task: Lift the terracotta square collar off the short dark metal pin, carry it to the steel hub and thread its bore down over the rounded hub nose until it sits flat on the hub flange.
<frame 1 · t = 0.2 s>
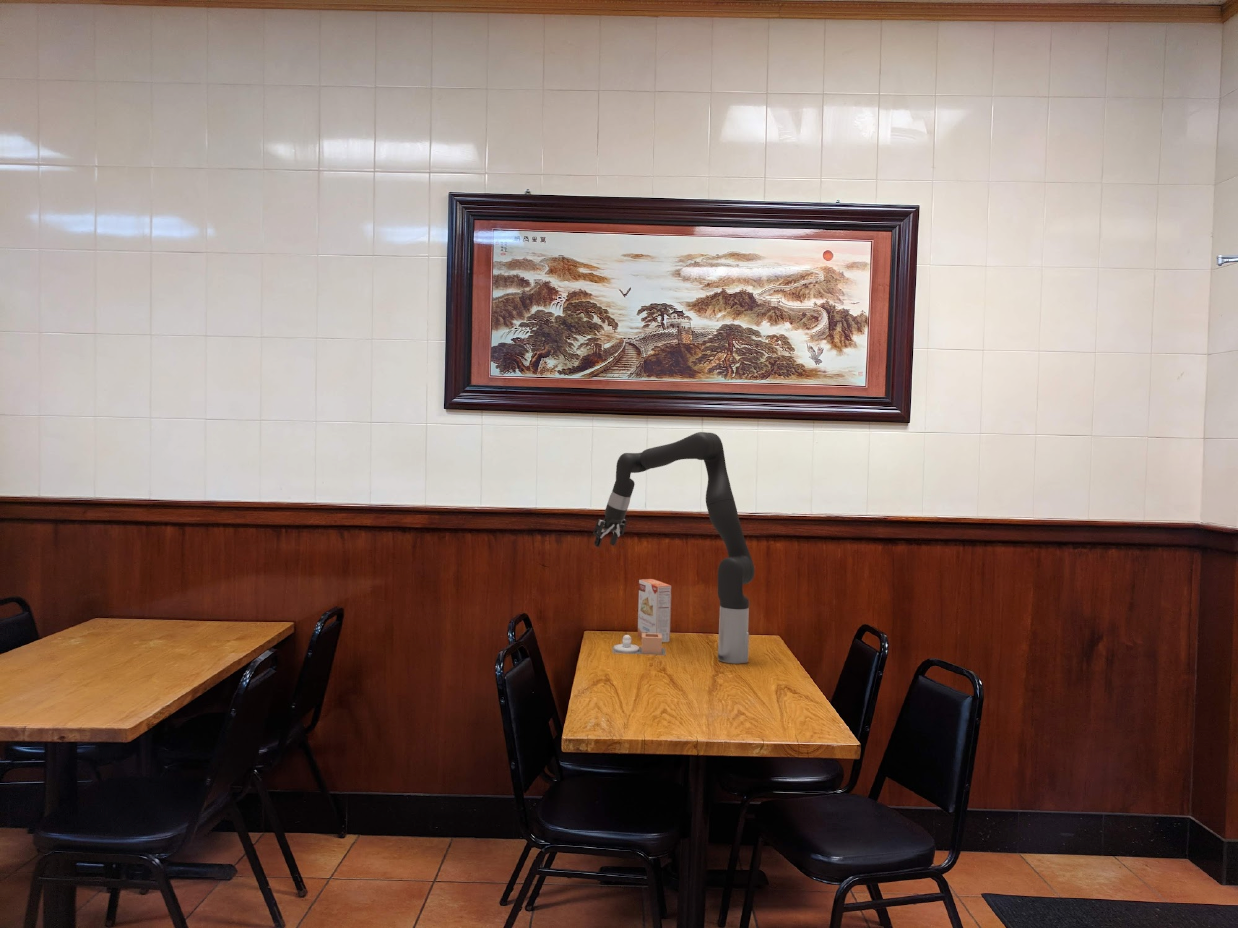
hand: (604, 545, 297), 31 cm above the table, tool tilted 20°, fingers open, 8 cm apart
hub base: (638, 654, 264), on the table
collar: (651, 650, 263), point 1 cm above the table, touching hub base
cracker box: (652, 642, 282), on the table
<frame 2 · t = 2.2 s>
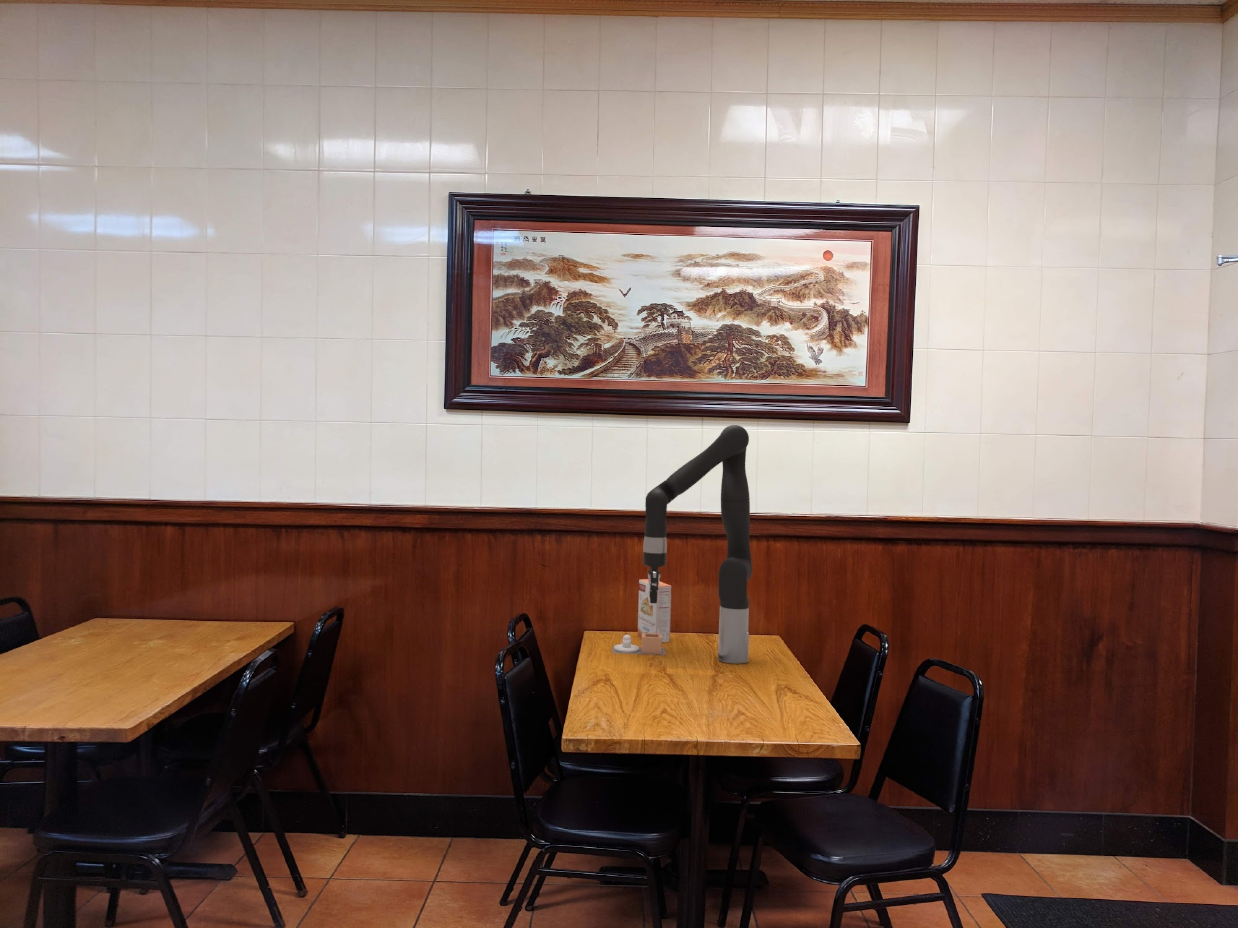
hand: (653, 600, 263), 18 cm above the table, tool pointing down, fingers open, 8 cm apart
nothing on the table moved.
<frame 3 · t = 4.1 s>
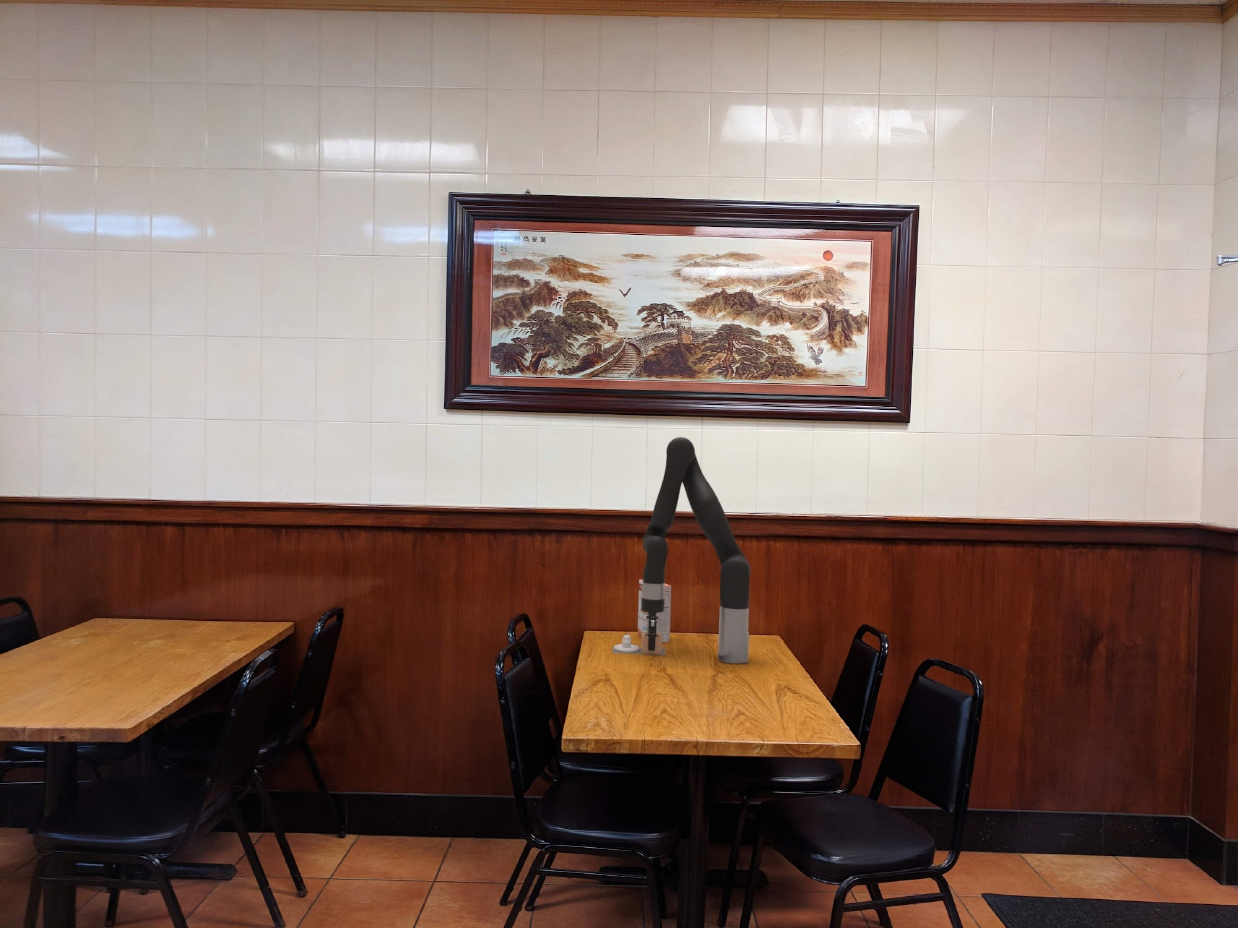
hand: (651, 647, 263), 3 cm above the table, tool pointing down, fingers closed on collar, 6 cm apart
collar: (651, 650, 263), point 1 cm above the table, touching gripper, hub base
everything else where it was.
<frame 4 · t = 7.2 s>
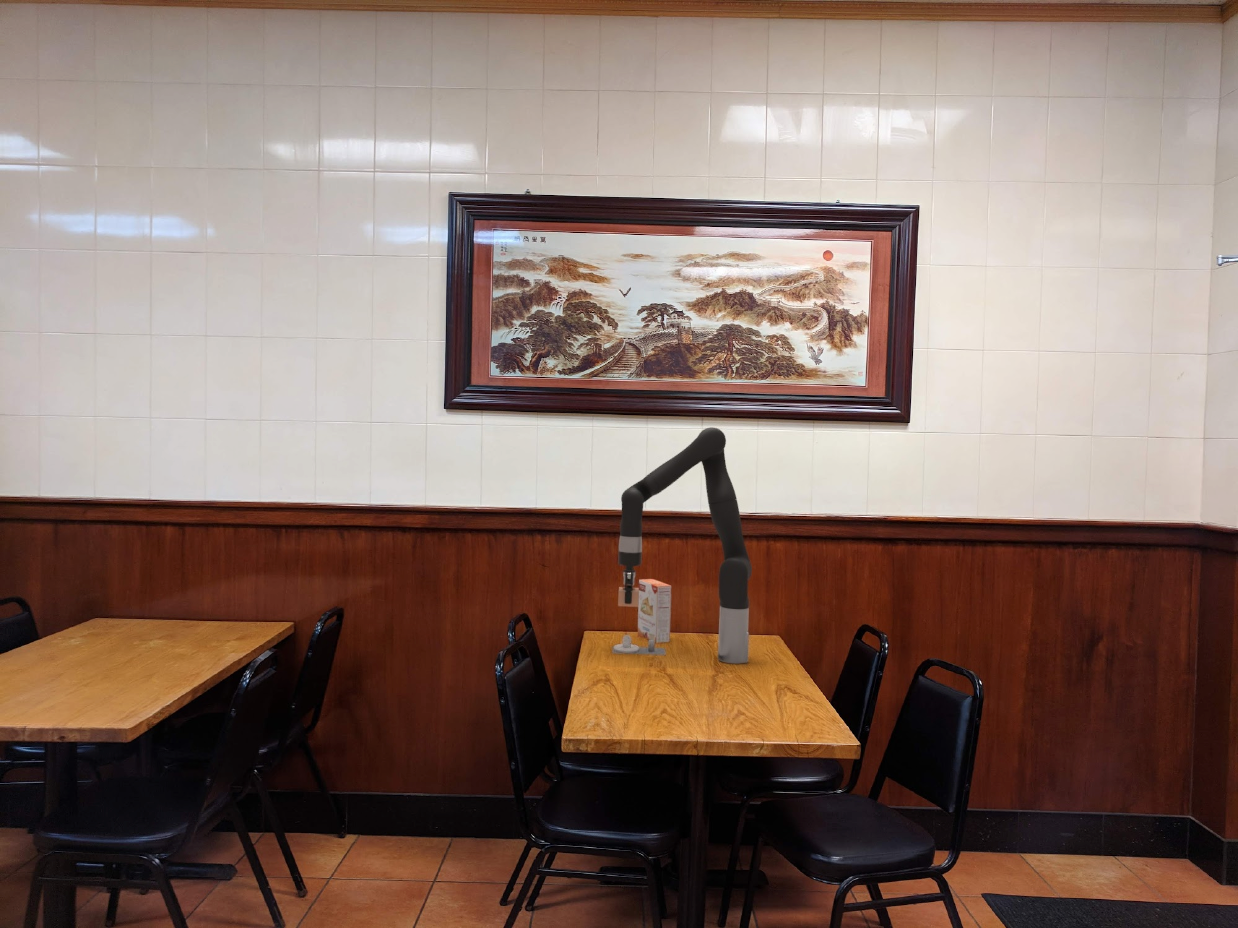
hand: (628, 601, 263), 17 cm above the table, tool pointing down, fingers closed on collar, 6 cm apart
collar: (628, 604, 263), point 16 cm above the table, touching gripper
everything else where it was.
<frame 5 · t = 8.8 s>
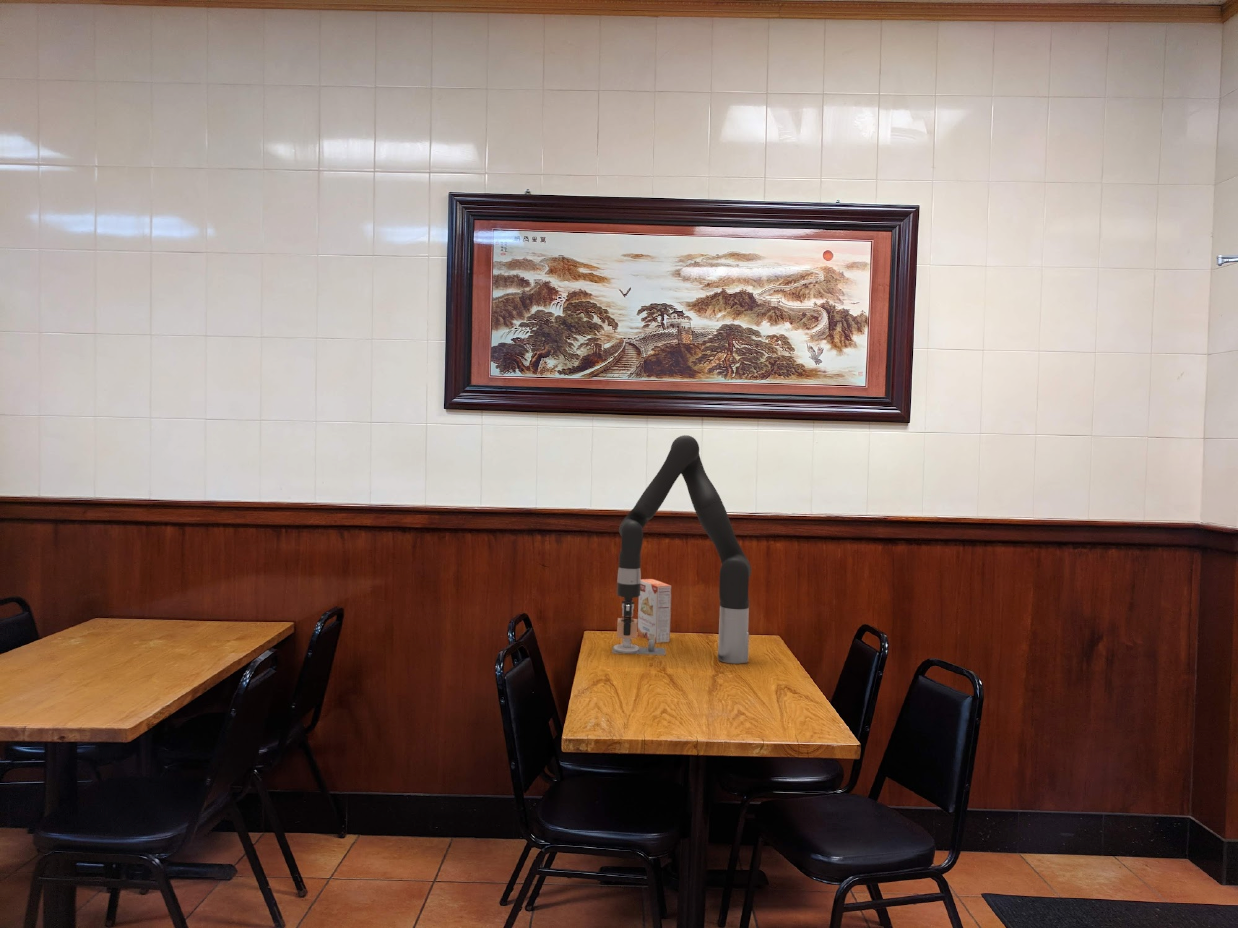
hand: (627, 632, 264), 7 cm above the table, tool pointing down, fingers closed on collar, 6 cm apart
collar: (626, 635, 264), point 6 cm above the table, touching gripper
everything else where it was.
when the fingers open (4 cm above the table, at t = 10.2 s): collar stays where it is, resting on hub base.
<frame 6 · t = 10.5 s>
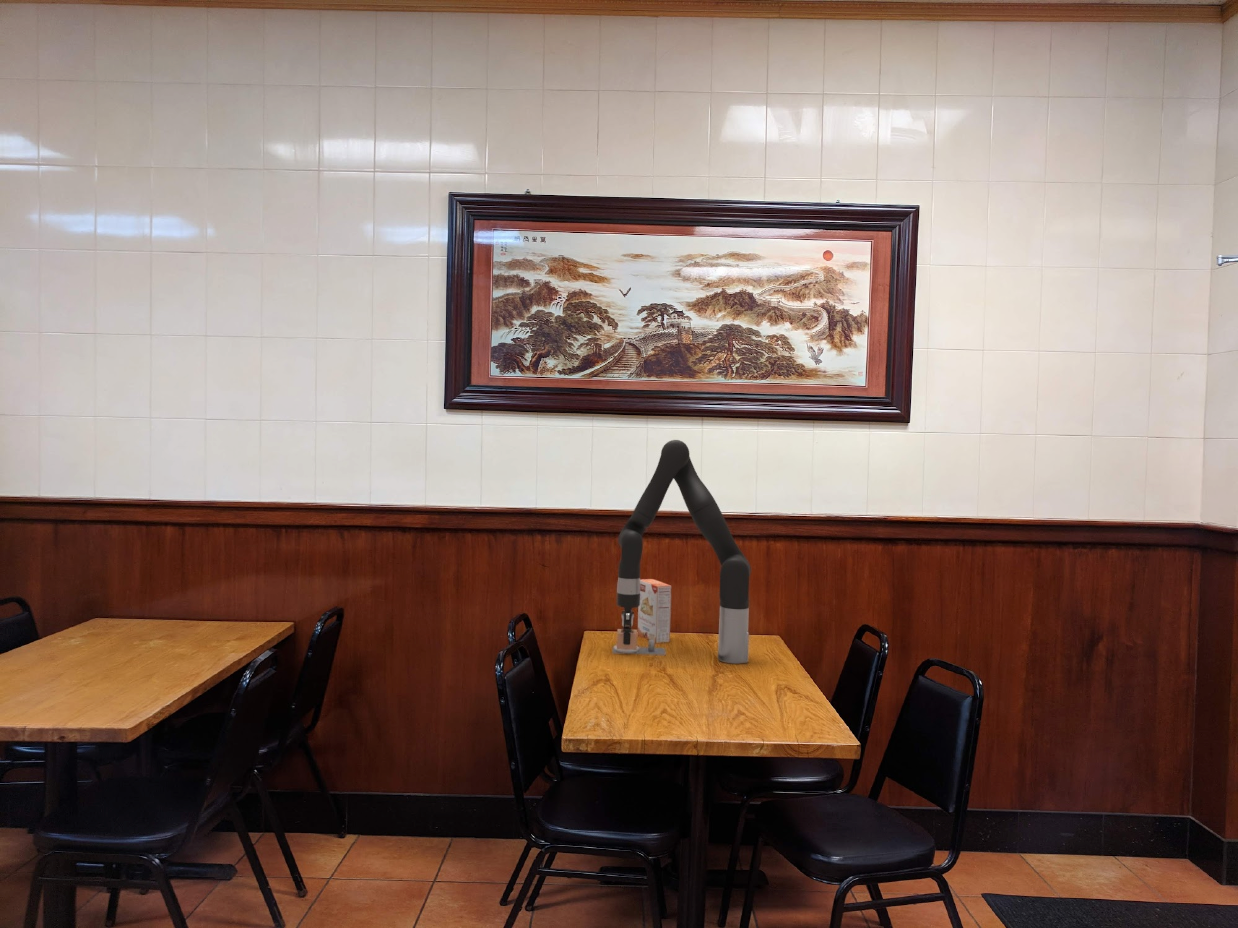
hand: (626, 641, 264), 4 cm above the table, tool pointing down, fingers open, 8 cm apart
collar: (626, 646, 264), point 2 cm above the table, touching hub base
everything else where it was.
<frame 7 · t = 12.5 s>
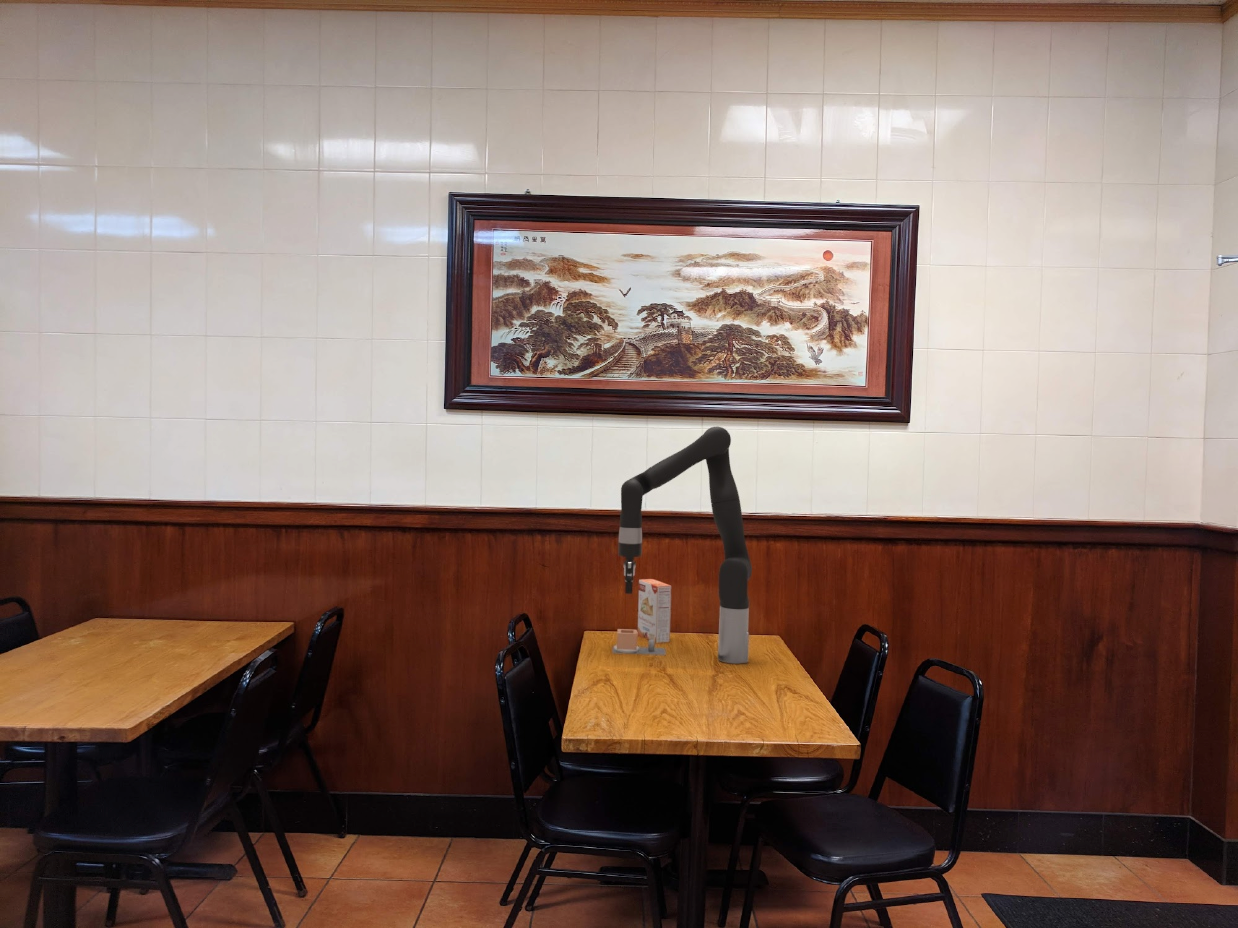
hand: (628, 591, 264), 20 cm above the table, tool pointing down, fingers open, 8 cm apart
nothing on the table moved.
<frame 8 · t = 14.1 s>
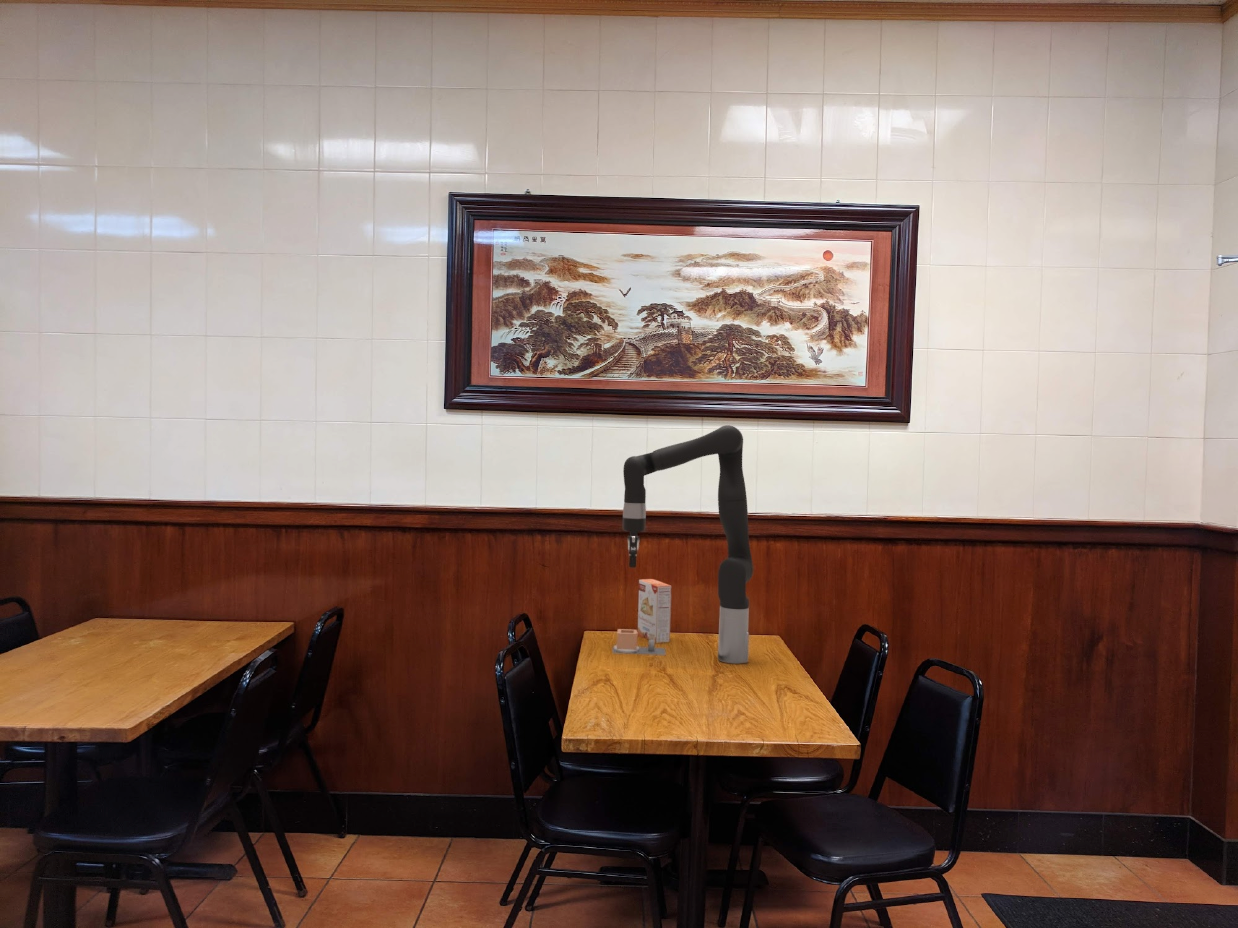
hand: (632, 565, 269), 28 cm above the table, tool pointing down, fingers open, 8 cm apart
nothing on the table moved.
at the end: collar 0.0 cm from the target spot on the hub base, point 2.5 cm above the hub base's base; collar tilted 0°; the gripper is holding nothing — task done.
